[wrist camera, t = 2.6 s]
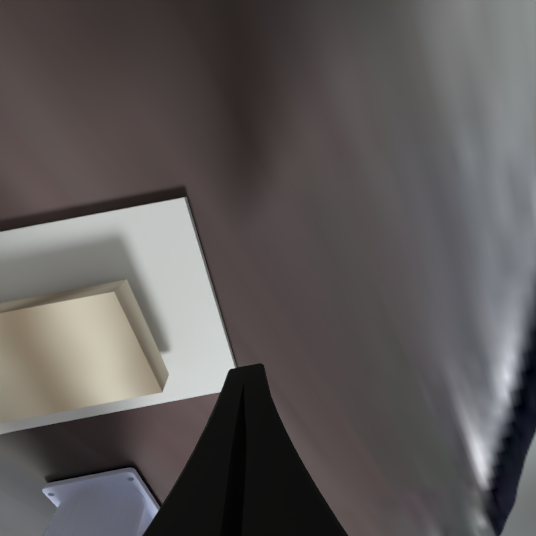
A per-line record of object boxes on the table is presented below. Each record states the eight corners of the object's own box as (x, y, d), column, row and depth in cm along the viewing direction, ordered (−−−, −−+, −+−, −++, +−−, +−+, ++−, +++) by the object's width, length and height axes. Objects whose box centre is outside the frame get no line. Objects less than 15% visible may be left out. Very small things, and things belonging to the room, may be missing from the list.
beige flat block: (134, 271, 14) (114, 291, 12) (173, 362, 17) (162, 392, 15) (-37, 304, 14) (-88, 329, 12) (30, 389, 17) (-2, 423, 15)
